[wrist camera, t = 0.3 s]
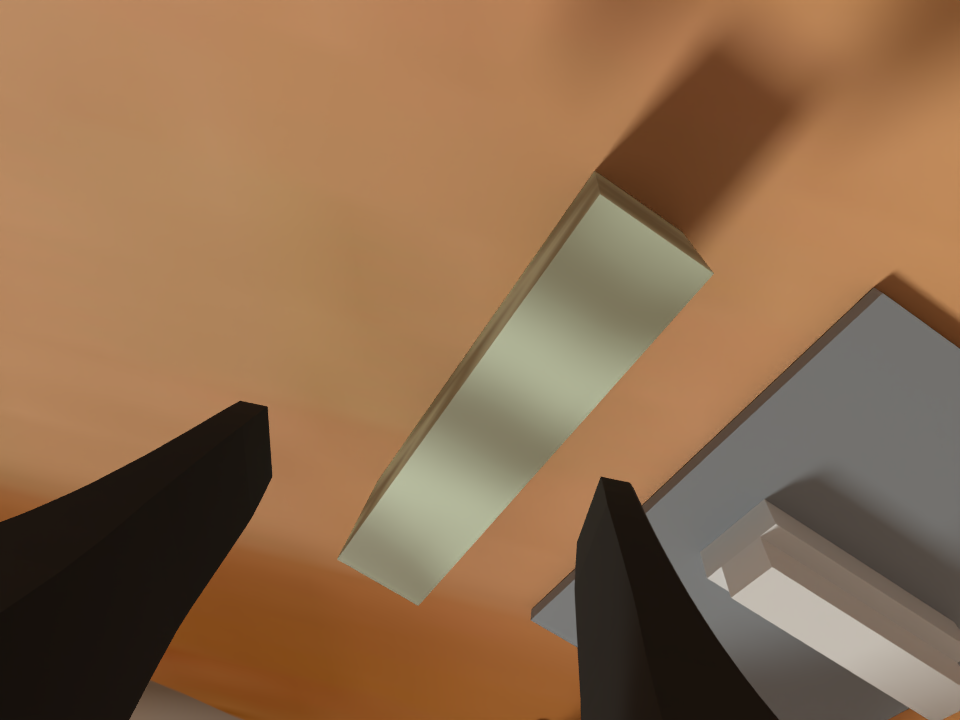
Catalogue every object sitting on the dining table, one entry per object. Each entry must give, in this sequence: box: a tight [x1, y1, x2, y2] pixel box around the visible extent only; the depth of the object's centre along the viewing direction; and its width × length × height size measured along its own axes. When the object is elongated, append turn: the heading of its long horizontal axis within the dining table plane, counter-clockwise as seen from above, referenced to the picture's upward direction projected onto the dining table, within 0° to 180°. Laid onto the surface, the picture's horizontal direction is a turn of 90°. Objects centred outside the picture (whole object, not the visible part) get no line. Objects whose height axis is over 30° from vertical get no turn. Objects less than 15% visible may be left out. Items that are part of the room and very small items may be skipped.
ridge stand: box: [531, 288, 960, 720], centre depth 22 cm, size 20×16×4 cm
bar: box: [338, 171, 714, 606], centre depth 20 cm, size 16×4×5 cm, turn 148°
